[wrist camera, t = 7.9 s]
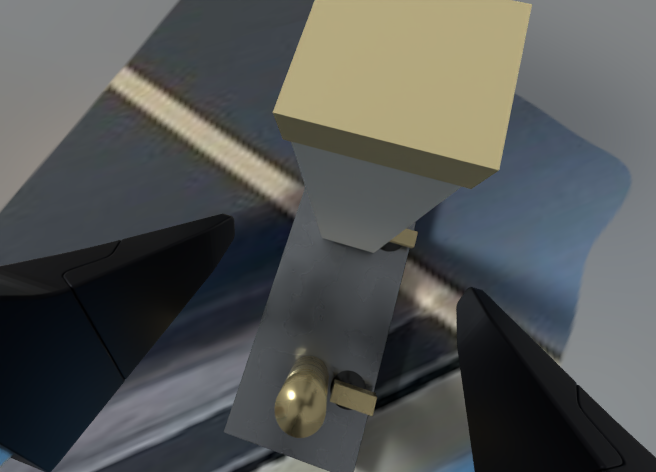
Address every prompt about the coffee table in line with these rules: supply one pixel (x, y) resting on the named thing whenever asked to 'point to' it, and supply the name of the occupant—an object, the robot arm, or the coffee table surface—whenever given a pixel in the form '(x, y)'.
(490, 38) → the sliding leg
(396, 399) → the coffee table surface
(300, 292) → the plate
